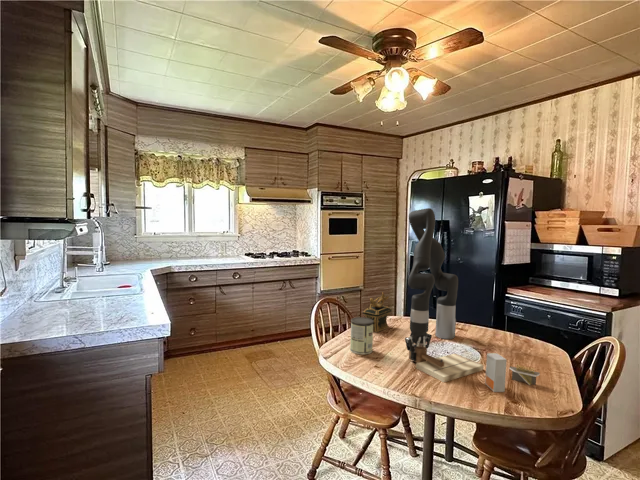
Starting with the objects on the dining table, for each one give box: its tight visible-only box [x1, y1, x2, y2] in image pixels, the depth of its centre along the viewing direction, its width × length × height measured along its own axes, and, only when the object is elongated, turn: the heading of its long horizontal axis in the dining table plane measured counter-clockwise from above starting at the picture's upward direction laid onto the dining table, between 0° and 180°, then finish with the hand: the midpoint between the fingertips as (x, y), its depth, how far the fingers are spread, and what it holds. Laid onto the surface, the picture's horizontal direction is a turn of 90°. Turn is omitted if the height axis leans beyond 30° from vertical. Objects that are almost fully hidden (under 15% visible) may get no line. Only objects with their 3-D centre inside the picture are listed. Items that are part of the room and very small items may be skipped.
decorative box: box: [362, 291, 393, 333], centre depth 197 cm, size 20×10×20 cm, turn 141°
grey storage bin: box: [509, 364, 541, 386], centre depth 134 cm, size 12×18×7 cm, turn 58°
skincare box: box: [484, 352, 507, 393], centre depth 129 cm, size 6×4×12 cm
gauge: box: [408, 343, 444, 367], centre depth 147 cm, size 4×17×6 cm, turn 31°
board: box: [415, 353, 485, 383], centre depth 145 cm, size 24×14×2 cm, turn 121°
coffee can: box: [349, 316, 374, 355], centre depth 162 cm, size 10×10×14 cm
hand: (417, 359), depth 151 cm, fingers closed on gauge, 4 cm apart
